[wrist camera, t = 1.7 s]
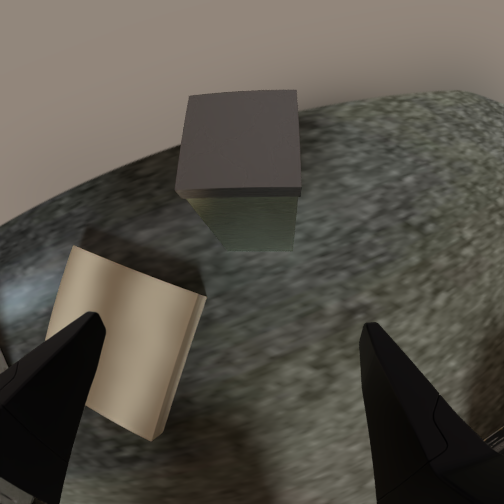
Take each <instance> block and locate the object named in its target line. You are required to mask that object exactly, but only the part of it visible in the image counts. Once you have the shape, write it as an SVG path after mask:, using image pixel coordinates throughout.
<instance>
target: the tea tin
mask: <svg viewBox="0 0 504 504" xmlns="http://www.w3.org/2000/svg"><path fill="white" fill-rule="evenodd" d="M301 188H302V185H301V159H300V138H299V120H298V105H297V91H296V90H258V91H238V92H224V93H214V94H213V93H212V94H202V95H193V96H189V101H188V106H187V111H186V117H185V123H184V129H183V135H182V141H181V148H180V155H179V162H178V169H177V176H176V184H175V191H176V192H177V193H178V195H179V196H180V197H181V198H182V199H186V200H187V201H188V202H189V203H190V205H191V206H192V207H193V208H194V210H195V211H196V212H197V213H198V215H199V216H200V217H201V218H202V220H203V221H204V222H205V223H206V225H207V226H208V227H209V228H210V230H211V231H212V232H213V233H214V235H215V236H216V237H217V238H218V240H219V241H220V242H221V243H222V245H223V246H224V247H225V248H226V250H227V251H293V244H294V234H295V224H296V213H297V202H298V197H301Z"/></svg>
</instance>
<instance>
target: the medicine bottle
mask: <svg viewBox="0 0 504 504" xmlns="http://www.w3.org/2000/svg"><path fill="white" fill-rule="evenodd" d="M484 441H485V442H486V443H487V444H488V445H489V446H490V447H491V448H492V449H494V450H495V451H497V452H499V453H501V454H503V455H504V426H503V427H502V428H500V429H499V430H498V431H496V432H495V433H493V434H492V435H490V436H489V437H487V438H486V439H485V440H484Z"/></svg>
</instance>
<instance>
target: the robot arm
mask: <svg viewBox="0 0 504 504" xmlns="http://www.w3.org/2000/svg"><path fill="white" fill-rule="evenodd" d="M105 336H106V328H105V325H104V323H103V321H102V319H101V317H100V315H99V313H97V312H92V311H88V312H86V313H84V314H83V315H81V316H80V317H79V318H77V319H76V320H74V321H73V322H71V323H70V324H69V325H67V326H66V327H64V328H63V329H61V330H60V331H59V332H57V333H56V334H54V335H53V336H52V337H50V338H49V339H47V340H46V341H45V342H43V343H42V344H40V345H39V346H38V347H36V348H35V349H34V350H32V351H31V352H29V353H28V354H27V355H25V356H24V357H23V358H21V359H20V360H19V361H17V362H16V363H14V364H13V365H12V366H10V367H9V368H8V369H6V370H5V371H4V372H2V373H1V374H0V504H32V503H33V500H34V497H35V498H37V499H39V500H41V501H43V502H45V503H47V504H59V503H60V498H61V493H62V489H63V484H64V480H65V476H66V471H67V467H68V462H69V459H70V455H71V451H72V448H73V444H74V440H75V437H76V433H77V430H78V427H79V423H80V420H81V417H82V413H83V410H84V407H85V404H86V401H87V398H88V395H89V392H90V389H91V386H92V383H93V380H94V377H95V374H96V371H97V367H98V364H99V360H100V356H101V352H102V348H103V344H104V340H105ZM359 350H360V365H361V382H362V392H363V399H364V405H365V411H366V417H367V424H368V431H369V438H370V445H371V453H372V461H373V469H374V479H375V488H376V499H377V504H504V455H503V454H501V453H499V452H497V451H495V450H494V449H492V448H491V447H490V446H489V445H488V444H487V443H486V442H485V441H484V440H483V439H482V438H481V437H480V436H479V435H478V434H476V433H475V432H474V431H473V430H472V429H471V428H470V427H469V426H468V425H467V424H466V423H465V422H464V421H463V420H462V419H461V418H460V417H459V416H458V415H457V413H456V412H455V411H454V410H453V409H452V408H451V407H450V406H449V404H448V403H447V402H446V401H445V400H444V398H443V397H442V396H441V395H439V393H438V391H437V390H436V389H435V388H434V387H433V385H432V384H431V383H430V382H429V381H428V380H427V378H426V377H425V376H424V375H423V374H422V373H421V371H420V370H419V369H418V368H417V367H416V366H415V364H414V363H413V362H412V361H411V360H410V359H409V358H408V356H407V355H406V354H405V353H404V352H403V351H402V350H401V348H400V347H399V346H398V345H397V344H396V343H395V342H394V341H393V339H392V338H391V337H390V336H389V335H388V334H387V333H386V332H385V330H384V329H383V328H382V327H381V326H380V325H379V324H378V323H376V322H371V323H365V324H364V326H363V330H362V333H361V337H360V342H359Z"/></svg>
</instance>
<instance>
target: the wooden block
mask: <svg viewBox="0 0 504 504" xmlns="http://www.w3.org/2000/svg"><path fill="white" fill-rule="evenodd" d="M206 298H207V297H206V296H203V295H200V294H197V293H194V292H192V291H189V290H186V289H183V288H180V287H178V286H175V285H172V284H170V283H167V282H164V281H162V280H159V279H156V278H154V277H151V276H148V275H146V274H143V273H141V272H138V271H136V270H133V269H130V268H128V267H125V266H123V265H120V264H118V263H115V262H113V261H110V260H108V259H106V258H103V257H101V256H98V255H96V254H93V253H91V252H89V251H86V250H84V249H81V248H79V247H77V246H74V245H73V248H72V250H71V253H70V256H69V259H68V262H67V265H66V268H65V271H64V274H63V277H62V280H61V284H60V287H59V290H58V294H57V297H56V300H55V304H54V308H53V311H52V315H51V319H50V323H49V327H48V331H47V335H46V340H47V339H49V338H50V337H52V336H53V335H54V334H56V333H57V332H59V331H60V330H61V329H63V328H64V327H66V326H67V325H69V324H70V323H71V322H73V321H74V320H76V319H77V318H79V317H80V316H81V315H83V314H84V313H86V312H88V311H92V312H97V313H99V315H100V317H101V319H102V321H103V323H104V325H105V328H106V336H105V340H104V344H103V348H102V352H101V356H100V360H99V364H98V367H97V371H96V374H95V377H94V380H93V383H92V386H91V389H90V392H89V395H88V398H87V401H86V404H85V405H86V406H88V407H90V408H91V409H93V410H94V411H96V412H98V413H99V414H101V415H103V416H105V417H106V418H108V419H110V420H111V421H113V422H115V423H117V424H119V425H120V426H122V427H124V428H126V429H128V430H130V431H131V432H133V433H135V434H137V435H139V436H141V437H143V438H145V439H147V440H149V441H153V440H154V439H155V438H156V437H158V436H159V435H160V434H161V433H162V432H163V431H164V428H165V424H166V421H167V418H168V415H169V412H170V408H171V405H172V402H173V399H174V396H175V392H176V389H177V386H178V383H179V380H180V377H181V374H182V371H183V367H184V364H185V361H186V358H187V355H188V352H189V349H190V346H191V343H192V340H193V337H194V334H195V331H196V328H197V325H198V322H199V319H200V316H201V313H202V310H203V307H204V304H205V301H206ZM46 340H45V341H46Z"/></svg>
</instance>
